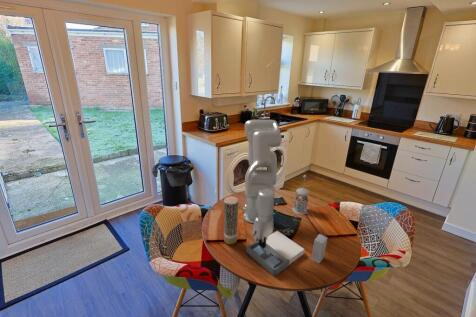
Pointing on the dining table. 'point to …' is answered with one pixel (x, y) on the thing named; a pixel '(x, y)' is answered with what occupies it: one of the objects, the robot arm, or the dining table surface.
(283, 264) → the tray
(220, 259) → the dining table surface
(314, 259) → the skincare box
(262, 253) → the tile
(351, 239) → the dining table surface
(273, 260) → the tile
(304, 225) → the dining table surface
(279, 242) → the board
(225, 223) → the paper tube
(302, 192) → the french press
